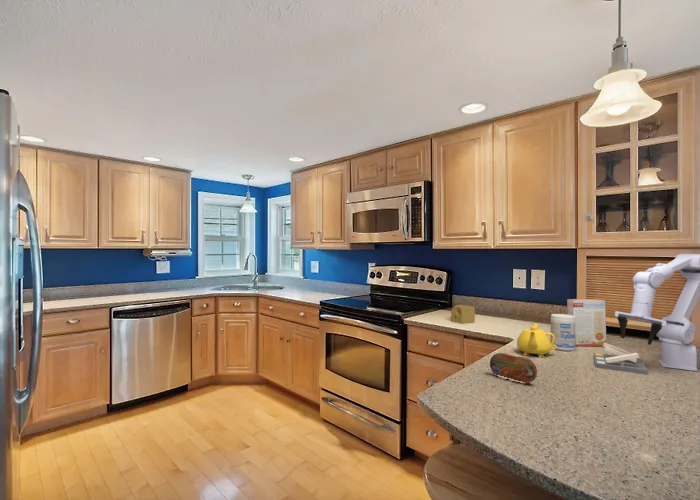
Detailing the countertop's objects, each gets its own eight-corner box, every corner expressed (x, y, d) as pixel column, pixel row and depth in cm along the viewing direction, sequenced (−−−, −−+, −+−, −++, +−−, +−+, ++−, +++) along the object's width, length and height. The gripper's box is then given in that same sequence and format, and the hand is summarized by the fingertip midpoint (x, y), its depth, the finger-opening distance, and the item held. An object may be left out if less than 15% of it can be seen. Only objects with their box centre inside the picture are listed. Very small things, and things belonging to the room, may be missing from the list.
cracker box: (598, 343, 168) (598, 298, 168) (606, 347, 162) (606, 300, 162) (567, 343, 170) (566, 298, 170) (573, 346, 164) (573, 300, 164)
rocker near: (638, 355, 130) (637, 352, 130) (639, 357, 127) (638, 354, 128) (606, 361, 134) (605, 358, 135) (607, 363, 132) (605, 359, 132)
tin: (489, 375, 125) (489, 351, 126) (494, 373, 128) (493, 349, 128) (534, 387, 114) (533, 360, 114) (538, 385, 116) (538, 358, 116)
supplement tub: (563, 352, 154) (563, 317, 154) (545, 346, 163) (545, 314, 163) (581, 350, 157) (580, 316, 157) (562, 345, 166) (562, 313, 166)
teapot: (556, 363, 139) (556, 333, 139) (514, 357, 146) (513, 329, 147) (557, 351, 156) (557, 324, 156) (519, 346, 164) (519, 321, 164)
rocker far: (632, 357, 140) (633, 354, 140) (633, 358, 138) (634, 355, 137) (602, 345, 145) (604, 342, 145) (603, 346, 143) (604, 343, 142)
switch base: (640, 362, 139) (640, 354, 139) (647, 374, 126) (647, 365, 126) (593, 356, 147) (593, 348, 147) (595, 367, 134) (595, 358, 134)
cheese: (450, 321, 225) (450, 305, 225) (463, 320, 229) (463, 304, 229) (462, 324, 215) (461, 307, 215) (475, 322, 220) (475, 306, 220)
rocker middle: (634, 361, 135) (636, 358, 135) (635, 362, 133) (637, 359, 132) (604, 348, 140) (605, 345, 140) (604, 349, 138) (605, 347, 137)
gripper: (616, 298, 133) (609, 334, 132) (668, 307, 123) (660, 346, 122) (619, 300, 138) (612, 335, 137) (669, 309, 128) (662, 347, 127)
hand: (635, 341), depth 130 cm, fingers open, 7 cm apart
